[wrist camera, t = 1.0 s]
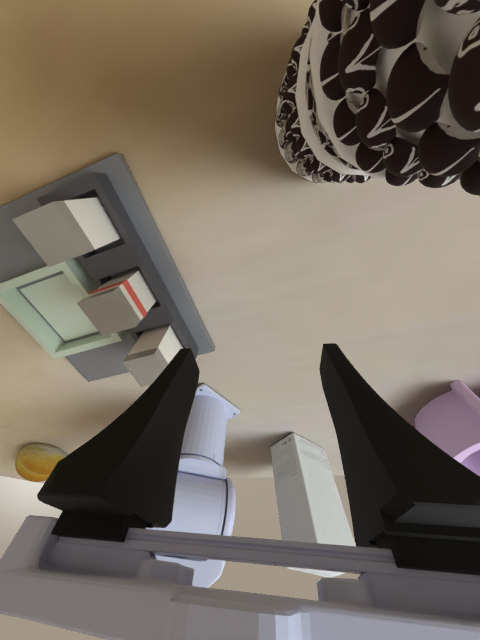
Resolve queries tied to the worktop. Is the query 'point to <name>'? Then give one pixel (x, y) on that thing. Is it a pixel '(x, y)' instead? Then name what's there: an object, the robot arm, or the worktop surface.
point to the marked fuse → (119, 303)
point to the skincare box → (308, 497)
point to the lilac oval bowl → (454, 424)
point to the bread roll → (38, 461)
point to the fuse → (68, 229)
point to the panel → (94, 275)
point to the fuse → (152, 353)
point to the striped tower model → (384, 93)
